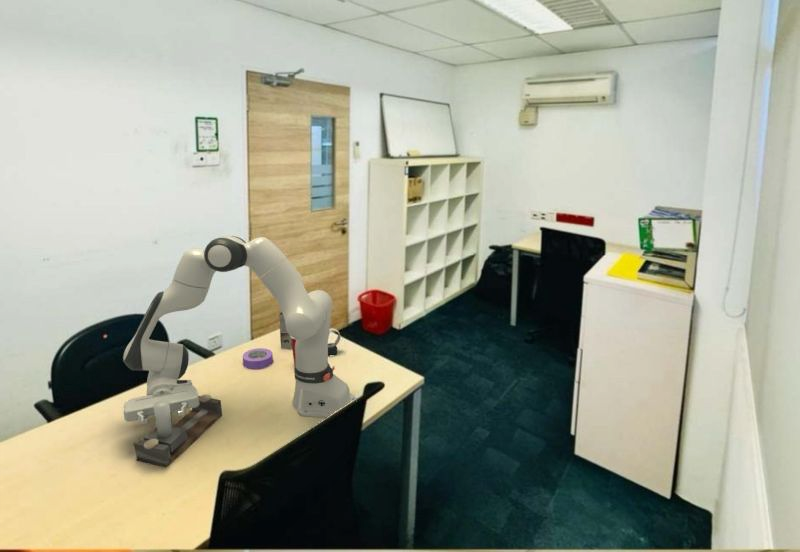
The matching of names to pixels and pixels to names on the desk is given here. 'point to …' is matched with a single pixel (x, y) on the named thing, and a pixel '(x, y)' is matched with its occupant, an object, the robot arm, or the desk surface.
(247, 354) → the masking tape
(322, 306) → the robot arm
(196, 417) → the rail
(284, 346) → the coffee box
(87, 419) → the desk surface
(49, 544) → the desk surface
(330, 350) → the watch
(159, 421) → the carriage
